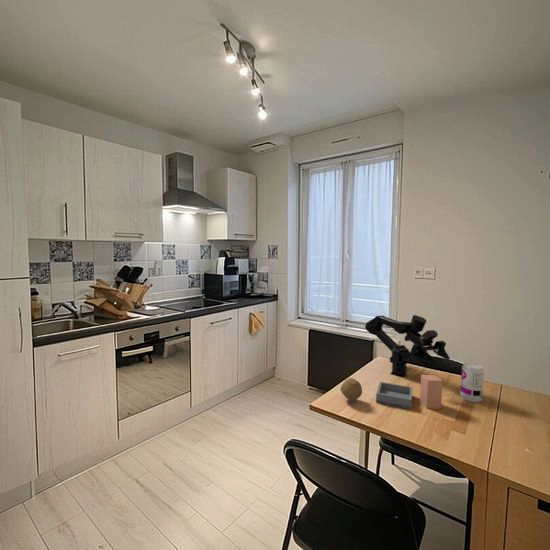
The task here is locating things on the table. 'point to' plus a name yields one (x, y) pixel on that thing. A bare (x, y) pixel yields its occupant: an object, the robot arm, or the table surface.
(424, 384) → the carton
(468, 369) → the supplement can
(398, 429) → the table surface
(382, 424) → the table surface
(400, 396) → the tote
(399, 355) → the robot arm
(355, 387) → the natural sponge
